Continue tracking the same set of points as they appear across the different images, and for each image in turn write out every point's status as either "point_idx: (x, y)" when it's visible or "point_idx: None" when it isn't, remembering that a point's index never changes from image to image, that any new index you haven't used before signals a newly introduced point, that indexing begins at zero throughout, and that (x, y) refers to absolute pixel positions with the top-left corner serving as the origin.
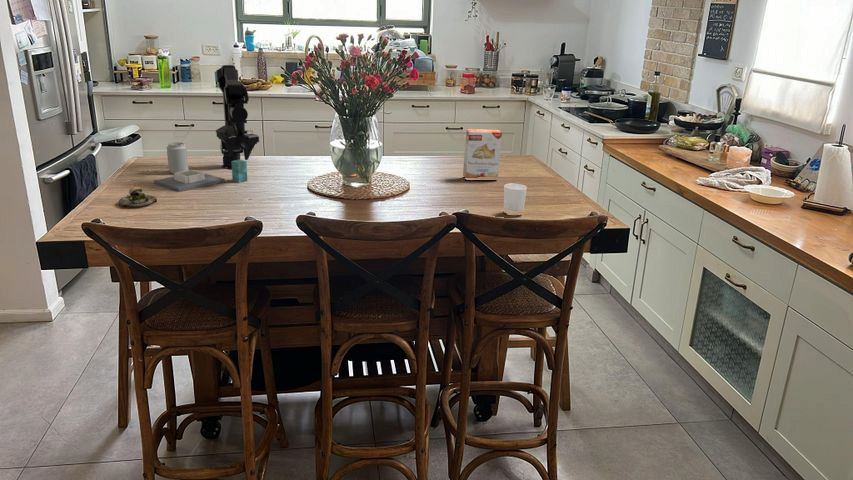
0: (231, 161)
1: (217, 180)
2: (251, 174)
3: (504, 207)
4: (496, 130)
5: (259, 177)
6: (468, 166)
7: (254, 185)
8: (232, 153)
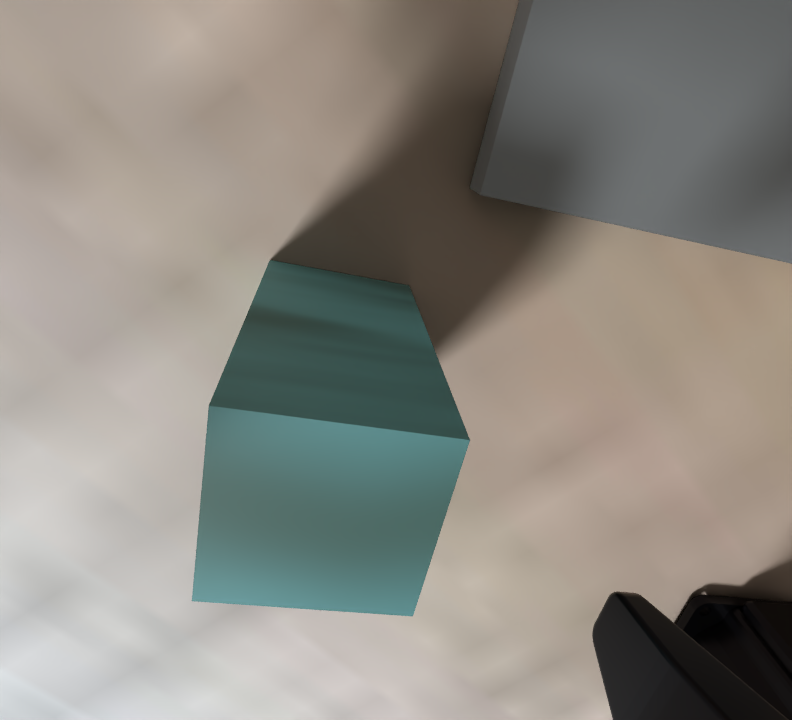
0: (466, 434)
1: (519, 53)
2: None
3: None
4: None
5: None
6: None
7: (5, 278)
8: (613, 686)
